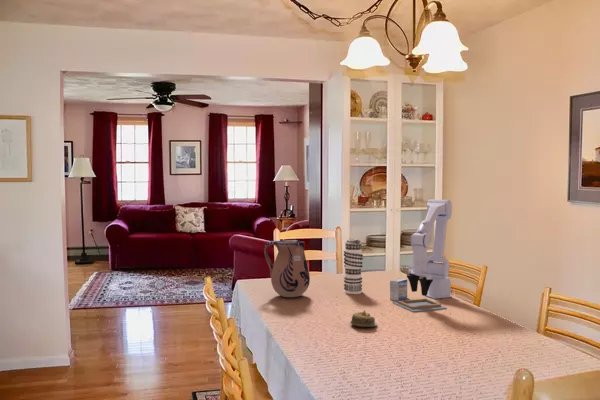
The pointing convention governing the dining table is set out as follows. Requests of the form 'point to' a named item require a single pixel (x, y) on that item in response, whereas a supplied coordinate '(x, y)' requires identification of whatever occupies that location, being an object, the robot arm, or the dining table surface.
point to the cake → (363, 319)
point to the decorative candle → (353, 266)
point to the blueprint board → (419, 305)
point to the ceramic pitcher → (288, 268)
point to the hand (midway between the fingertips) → (419, 293)
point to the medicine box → (398, 289)
